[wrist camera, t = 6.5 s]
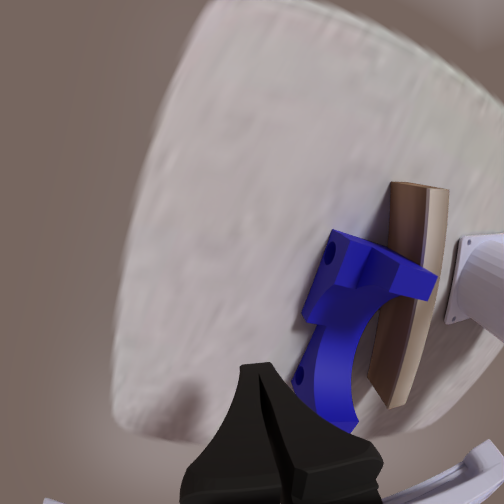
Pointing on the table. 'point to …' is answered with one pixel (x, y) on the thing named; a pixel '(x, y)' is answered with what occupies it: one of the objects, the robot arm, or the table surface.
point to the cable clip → (349, 317)
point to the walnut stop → (402, 307)
